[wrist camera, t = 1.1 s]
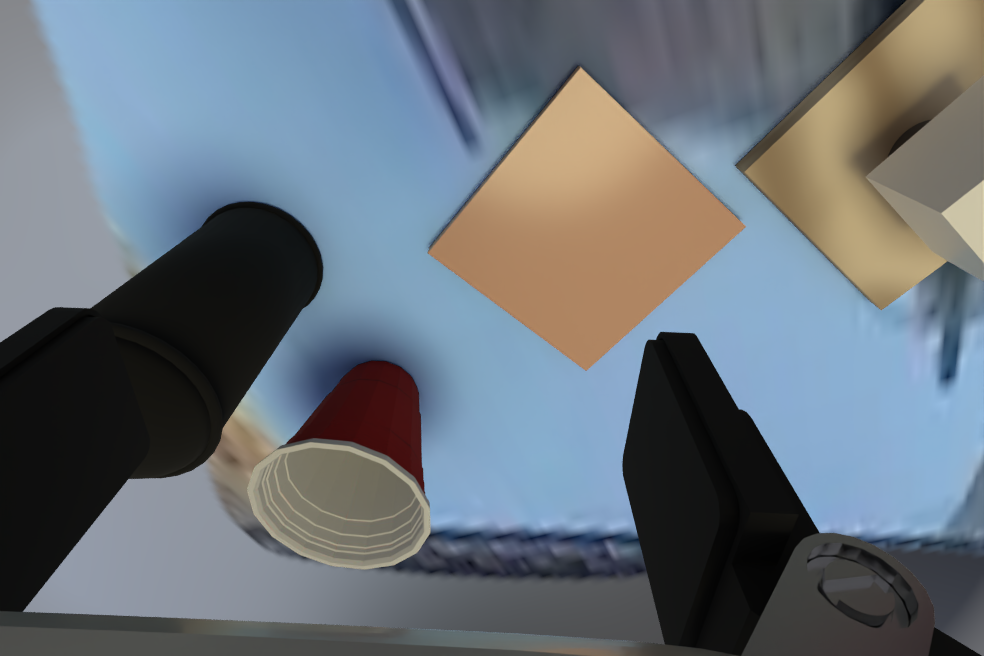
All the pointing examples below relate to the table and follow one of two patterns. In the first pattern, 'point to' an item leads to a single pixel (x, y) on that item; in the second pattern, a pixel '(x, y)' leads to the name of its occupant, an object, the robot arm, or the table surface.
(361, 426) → the plastic cup
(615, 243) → the tile
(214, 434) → the aerosol can
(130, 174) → the table surface
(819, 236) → the post stand
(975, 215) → the cream rectangular prism
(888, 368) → the table surface
